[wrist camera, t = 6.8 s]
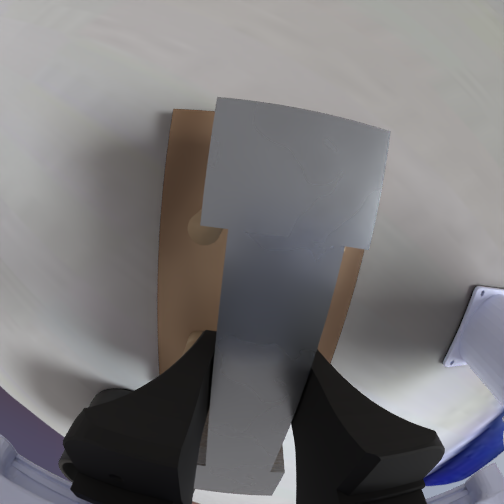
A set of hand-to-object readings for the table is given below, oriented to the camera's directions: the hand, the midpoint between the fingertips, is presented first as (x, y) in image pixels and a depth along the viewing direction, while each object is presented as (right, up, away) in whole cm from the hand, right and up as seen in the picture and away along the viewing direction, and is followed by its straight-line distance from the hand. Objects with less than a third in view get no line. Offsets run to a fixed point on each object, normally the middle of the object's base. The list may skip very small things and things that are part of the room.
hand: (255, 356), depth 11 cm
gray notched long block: (0, +1, +2) cm, 3 cm away
